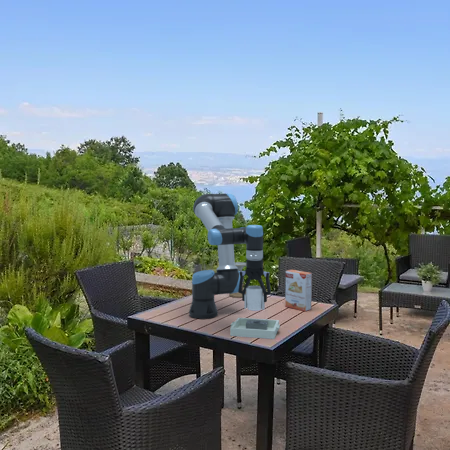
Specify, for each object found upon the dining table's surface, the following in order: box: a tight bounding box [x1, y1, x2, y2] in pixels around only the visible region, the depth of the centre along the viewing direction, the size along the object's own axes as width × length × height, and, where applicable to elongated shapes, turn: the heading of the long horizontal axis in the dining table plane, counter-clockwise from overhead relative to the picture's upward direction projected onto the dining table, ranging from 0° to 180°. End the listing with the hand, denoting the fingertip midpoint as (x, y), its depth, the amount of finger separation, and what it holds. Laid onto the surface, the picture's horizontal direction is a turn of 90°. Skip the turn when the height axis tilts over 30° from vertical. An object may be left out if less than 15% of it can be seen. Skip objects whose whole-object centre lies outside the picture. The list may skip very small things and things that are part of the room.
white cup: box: [246, 285, 263, 312], centre depth 215 cm, size 8×8×10 cm
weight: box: [246, 320, 268, 330], centre depth 223 cm, size 10×4×4 cm, turn 77°
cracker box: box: [284, 269, 313, 312], centre depth 260 cm, size 14×6×21 cm, turn 45°
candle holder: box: [228, 261, 246, 299], centre depth 291 cm, size 12×12×20 cm
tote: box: [229, 317, 281, 340], centre depth 218 cm, size 22×17×4 cm
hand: (254, 308), depth 215 cm, fingers closed on white cup, 7 cm apart
